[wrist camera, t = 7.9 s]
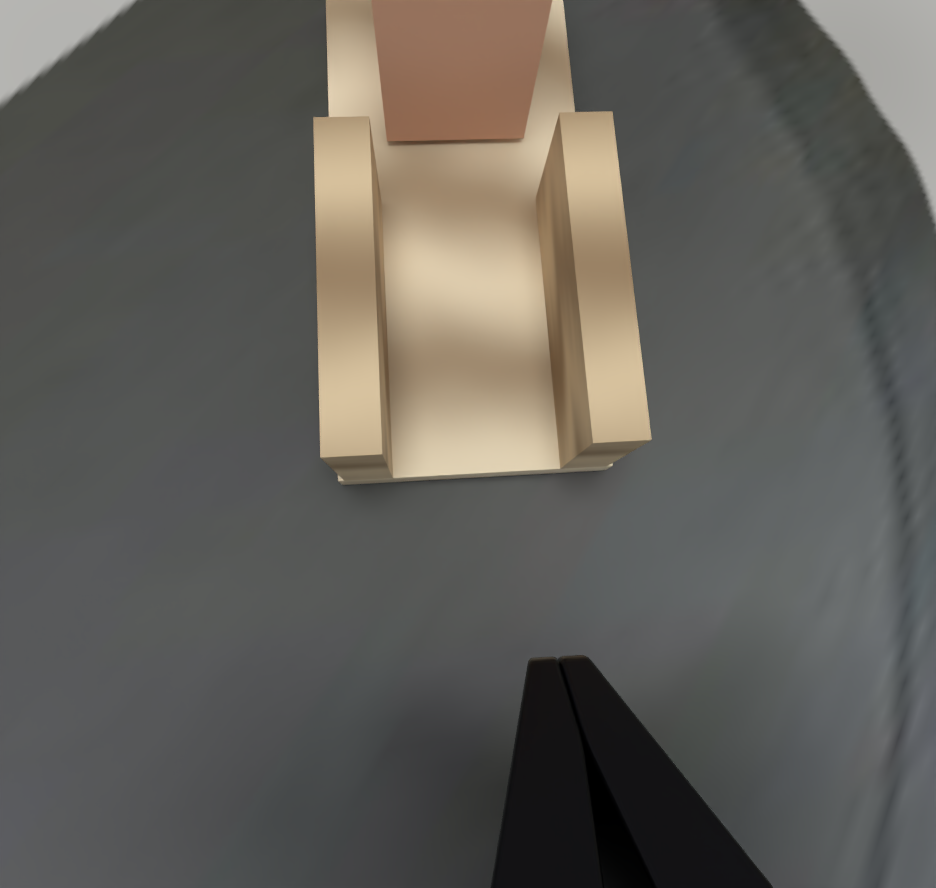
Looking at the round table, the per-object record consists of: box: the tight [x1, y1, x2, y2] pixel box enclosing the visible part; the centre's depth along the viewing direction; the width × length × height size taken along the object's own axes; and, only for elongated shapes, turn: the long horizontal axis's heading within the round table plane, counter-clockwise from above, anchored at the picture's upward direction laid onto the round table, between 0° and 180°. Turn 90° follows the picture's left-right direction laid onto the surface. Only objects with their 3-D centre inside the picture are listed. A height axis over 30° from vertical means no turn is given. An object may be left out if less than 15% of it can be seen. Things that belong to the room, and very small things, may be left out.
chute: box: [314, 0, 652, 485], centre depth 21 cm, size 19×9×6 cm, turn 4°
